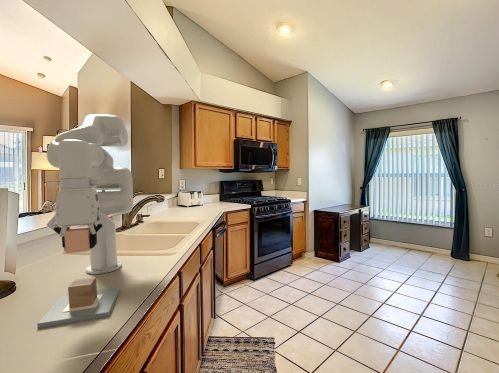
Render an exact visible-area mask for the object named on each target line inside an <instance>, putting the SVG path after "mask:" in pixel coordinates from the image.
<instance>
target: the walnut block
mask: <svg viewBox="0 0 499 373" xmlns="http://www.w3.org/2000/svg"><path fill="white" fill-rule="evenodd" d="M97 285H98V284H97V277H96V276H94V277H93V276H91V277H87V278H78V279H74V281H72V282H71V284H69V285H68V287H67V293H68V294H67V295H69V309H71V308H77V307H84V306H90V305H92V304H93V303H94V301H95V299H96V298H97V290H98V286H97Z"/></svg>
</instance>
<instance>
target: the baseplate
mask: <svg viewBox="0 0 499 373" xmlns="http://www.w3.org/2000/svg"><path fill="white" fill-rule="evenodd" d="M120 292H121V288H120V287H113V288H107V289H106V288H105V289H99V290H98V289H97V298H96V299H95V301H94V303H93V304H92V305H90V306H84V307H77V308H71V309H69V295H68V294H62V295H61V296H60V298H58V300H57V301H56V302H55V303H54V304H53V305H52V307H50V309H49V310H48V311H47V312H46V313H45V314H44V315H43V317H42V318H41V319H40V320H38V322H37V323H36V324H37V329H41V328H47V327H52V326H53V327H54V326H58V325H66V324H71V323H72V324H73V323H76V322H83V321H89V320H96V319H102V318H106V317H109V316H110V315H111V312H112V310H113V308H114V305H115V303H116V301H117V299H118V297H119V294H120Z"/></svg>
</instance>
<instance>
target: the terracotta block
mask: <svg viewBox="0 0 499 373" xmlns="http://www.w3.org/2000/svg"><path fill="white" fill-rule="evenodd" d="M89 235H90V230H89V228H88V226H80V227H78V226H76V227H70V229H68V230H67V231H65V232H64V236H65V250H64V252H65V255H67V254H75V253H77V254H78V253H83V252H87V253H88V252H90V250H91V249H92V248H90V241H89Z"/></svg>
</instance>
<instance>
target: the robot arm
mask: <svg viewBox="0 0 499 373" xmlns="http://www.w3.org/2000/svg"><path fill="white" fill-rule="evenodd" d="M128 142H129V134H128V130H127V127H126V125H125V122H124V120H123V119H122V118H121V117H120V116H118V115H115V114H114V115H113V114H98V113H97V114H96V113H95V114H88V115H86V116H84V118H83V119H82V120H81V122H80V124H79V125H78V127H77V128H73V129H70V130H67V131H64V132H61V133H59V134H57V135H55V137H53V139H52V140H51V142H49V145H48V147H47V150H46V159H47V162H48V163H49V165H51V166H52V167H54V168H56V169H59V170H58V171H59V183H60V184H59V186H60V188H59V190H58V191H57V193H56V194H57V195H56V201H55V214H54V216H52V218H51V219H50V220H49V221H48V222H47V223H46V226H47V227H48V228H50V229H51V230H52V231H54V232H55V233H56V234H58V235H59V237H61V243H62V244H61V245H62V248H63V250H64V251H65V236H64V232H65V231H67V230H68V229H70V228H71V227H74V226H87V227H88V228H89V230H90V235H89V241H90V248H92V249H91V250H89V261H90V263H89V264H90V265H89V266H87V267H86V274H89V275H100V274H107V273H111V272H113V271H116V270H118V269H120V268H121V267H122V262H120V261H119V260H118V254H117V253H118V251H117V250H118V249H117V234H116V232H117V231H116V225H115V222H114V221H113V219H111V218H110V217H109V216H110V215H122V214H123V215H124V214H128V213H130V212H132V211H133V207H134V192H133V191H134V186H133V185H134V184H133V174H132V171H131V170H130V169H129V168H128V167H123V166H122V167H120V166H119V167H117V166H116V167H114V158H113V157H112V155H111V153H109V152H108V151H107V150H106V149H105V148H103V147H109V148H110V147H112V148H113V147H120V148H121V147H125V146H126V145H127V144H128Z"/></svg>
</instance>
